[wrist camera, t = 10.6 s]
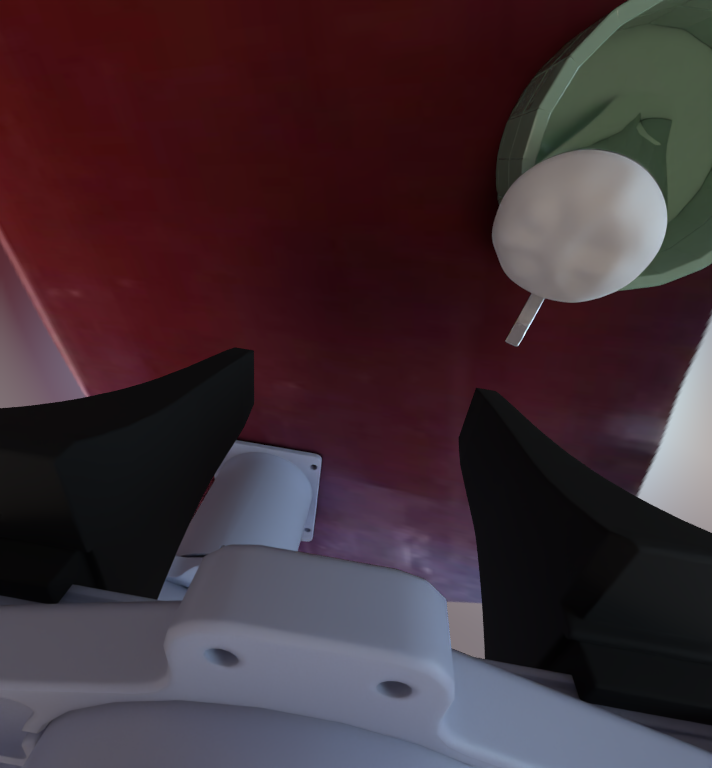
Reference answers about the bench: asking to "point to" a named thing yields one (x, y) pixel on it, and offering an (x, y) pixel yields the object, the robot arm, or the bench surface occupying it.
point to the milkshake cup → (590, 207)
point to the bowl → (627, 76)
